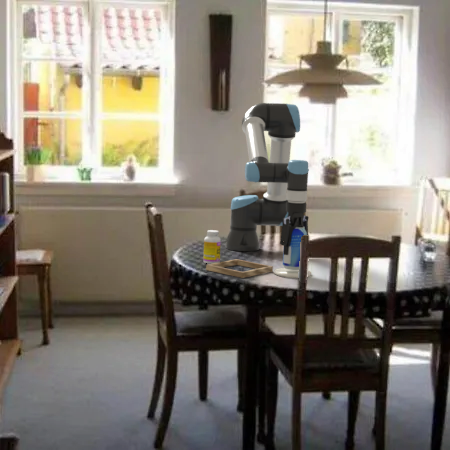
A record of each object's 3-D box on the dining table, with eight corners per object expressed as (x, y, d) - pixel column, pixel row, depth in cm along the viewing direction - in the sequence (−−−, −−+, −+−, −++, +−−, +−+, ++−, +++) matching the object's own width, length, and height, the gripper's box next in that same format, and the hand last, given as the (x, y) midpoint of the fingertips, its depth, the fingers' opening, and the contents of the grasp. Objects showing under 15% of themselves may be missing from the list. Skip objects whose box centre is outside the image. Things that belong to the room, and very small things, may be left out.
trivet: (288, 268, 309) (288, 266, 309) (318, 274, 300) (318, 272, 300) (266, 273, 299) (266, 271, 299) (296, 280, 290) (297, 277, 290)
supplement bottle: (217, 265, 311) (219, 232, 310) (201, 263, 313) (202, 231, 311) (221, 261, 318) (222, 230, 316) (205, 260, 319) (206, 229, 317)
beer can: (279, 269, 297) (282, 226, 295) (285, 265, 305) (288, 224, 302) (301, 271, 294) (304, 228, 292) (307, 267, 302) (309, 226, 300)
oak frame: (236, 264, 315) (236, 259, 314) (272, 271, 303) (272, 266, 303) (206, 269, 301) (206, 264, 301) (242, 277, 290) (242, 272, 289)
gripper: (304, 198, 305) (300, 257, 309) (271, 202, 290) (268, 263, 294) (320, 200, 301) (316, 260, 304) (288, 204, 285) (285, 266, 289)
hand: (293, 261), depth 299 cm, fingers closed on beer can, 7 cm apart
